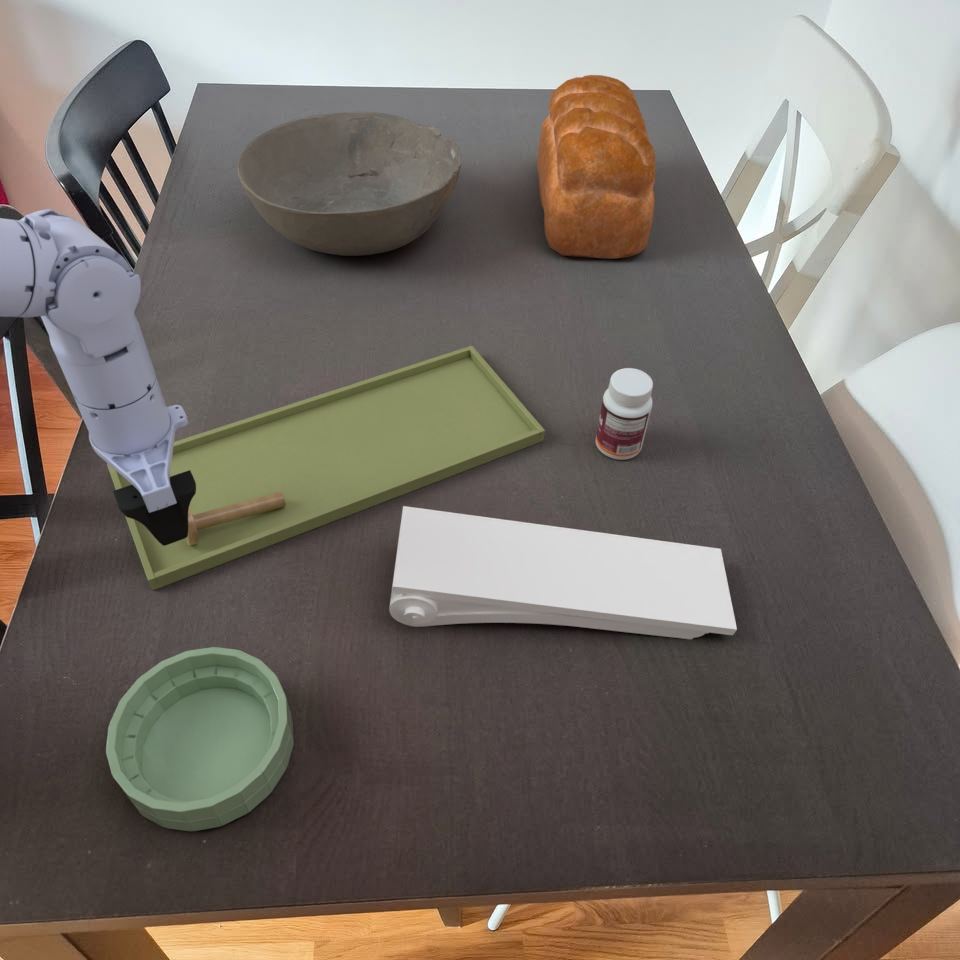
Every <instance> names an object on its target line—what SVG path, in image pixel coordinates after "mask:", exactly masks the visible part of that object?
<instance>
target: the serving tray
mask: <svg viewBox="0 0 960 960" xmlns="http://www.w3.org/2000/svg"><path fill="white" fill-rule="evenodd" d="M545 435H546V430H545V428H544V427H543V426H542V425H541V424H540V423H539V421H537V419H536V418H535V417H534V416H533V414H531V412H530V411H529V410H528V408H526V406H525V404H523V403H522V402H521V401H520V400H519V398H518V397H517V396H516V395H515V393H514V392H513V391H512V390H511V389H510V388H509V387H508V385H507V384H506V383H505V382H504V381H503V380H502V379H501V377H500V376H499V375H498V374H497V373H496V371H495V370H494V369H493V368H492V367H491V366H490V364H488V362H487V361H486V360H485V359H484V358H483V356H482V355H481V353H479V352H478V350H476V348H475V347H474V345H469V346H466V347H462V348H459V349H456V350H453V351H451V352H447V353H445V354H441V355H438V356H434V357H432V358H428V359H426V360H423V361H419V362H417V363H413V364H410V365H407V366H404V367H400V368H398V369H394V370H392V371H389V372H386V373H382V374H379V375H377V376H373V377H370V378H367V379H364V380H361V381H358V382H355V383H352V384H349V385H346V386H342V387H340V388H336V389H333V390H329V391H327V392H324V393H321V394H317V395H314V396H312V397H308V398H306V399H302V400H299V401H296V402H292V403H290V404H287V405H284V406H281V407H278V408H275V409H272V410H268V411H265V412H262V413H259V414H255V415H252V416H250V417H247V418H244V419H240V420H237V421H235V422H231V423H228V424H224V425H222V426H219V427H216V428H212V429H211V430H207V431H204V432H200V433H197V434H193V435H191V436H188V437H185V438H182V439H179V440H174V445H173V453H172V462H171V470H170V477H171V476H174V475H177V474H180V473H183V472H186V471H189V470H190V471H191V473H192V475H193V478H194V480H195V482H196V494H195V495H194V496H193V498H192V500H191V502H190V505H189V507H190V509H191V512H192V514H193V515H196V514H199V513H203V512H207V511H211V510H214V509H218V508H222V507H226V506H229V505H233V504H237V503H241V502H245V501H248V500H252V499H256V498H260V497H263V496H267V495H271V494H275V493H278V492H282V493H283V495H284V498H285V502H286V506H285V507H282V508H278V509H274V510H271V511H267V512H263V513H260V514H256V515H252V516H249V517H245V518H242V519H238V520H234V521H231V522H227V523H223V524H220V525H216V526H212V527H209V528H205V529H201V530H198V531H197V532H198V539H199V542H198V544H195V545H191V546H188V544H187V543H186V541H185V539H182V540H179V541H177V542H174V543H171V544H168V545H166V546H163V545H162V544H161V543H159V542H158V541H157V540H156V538H155V537H154V536H153V535H152V534H151V532H150V531H149V530H148V529H147V528H146V527H145V526H144V525H143V524H142V523H140V522H138V521H136V520H134V519H132V518H128V517H126V516H125V515H124V517H125V520H126V522H127V525H128V529H129V531H130V533H131V536H132V537H131V538H132V539H133V543H134V545H135V548H136V551H137V553H138V556H139V560H140V562H141V565H142V568H143V570H144V574H145V576H146V579H147V581H148V584H149V586H150V588H151V591H155V590H158V589H160V588H163V587H166V586H169V585H171V584H173V583H176V582H179V581H181V580H185V579H187V578H189V577H192V576H194V575H198V574H200V573H202V572H205V571H208V570H210V569H213V568H215V567H218V566H220V565H223V564H227V563H229V562H232V561H234V560H236V559H239V558H242V557H244V556H247V555H249V554H252V553H255V552H258V551H261V550H262V549H265V548H268V547H270V546H274V545H275V544H279V543H281V542H283V541H286V540H289V539H291V538H293V537H297V536H299V535H301V534H302V535H303V534H305V533H307V532H310V531H312V530H314V529H317V528H320V527H322V526H326V525H327V524H330V523H333V522H336V521H339V520H341V519H343V518H346V517H349V516H351V515H354V514H357V513H359V512H362V511H365V510H367V509H369V508H372V507H376V506H377V505H380V504H383V503H385V502H388V501H390V500H393V499H395V498H399V497H401V496H403V495H406V494H409V493H411V492H414V491H416V490H419V489H423V488H425V487H427V486H430V485H433V484H434V483H438V482H440V481H442V480H446V479H447V478H448V479H449V478H450V477H454V476H456V475H458V474H462V473H464V472H467V471H468V470H471V469H474V468H476V467H477V468H478V467H479V466H481V465H484V464H487V463H489V462H493V461H494V460H498V459H500V458H503V457H505V456H508V455H511V454H514V453H516V452H519V451H521V450H523V449H526V448H529V447H531V446H533V445H534V446H535V445H537V444H539V443H542V442H544V441H545ZM106 466H107V469H108V472H109V475H110V477H111V480H112V483H113V486H114V488H115V490H117V489H120V488H123V487H126V486H129V485H132V484H131V483H130V482H129V481H128V480H126V479H125V478H124V477H123V476H122V475H121V474H119V473H118V472H117V471H116V470H115V469H114V468H112V467H111V466H110V465H109V464H108V463H106Z"/></svg>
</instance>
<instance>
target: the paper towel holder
mask: <svg viewBox="0 0 960 960" xmlns="http://www.w3.org/2000/svg"><path fill="white" fill-rule="evenodd" d="M285 506H286V502H285V498H284V495H283V493H282V492H278V493H275V494H271V495H267V496H263V497H260V498H256V499H252V500H248V501H245V502H241V503H237V504H233V505H229V506H226V507H222V508H218V509H214V510H211V511H207V512H203V513H199V514H196V515H193V514H192V512H191V509H190V507H189V510H188V537H187V538H185V541H186V543H187V544H188V546H191V545H195V544H198V542H199V539H198V532H197V531H198V530H201V529H205V528H209V527H212V526H216V525H220V524H223V523H227V522H231V521H234V520H238V519H242V518H245V517H249V516H252V515H256V514H260V513H263V512H267V511H271V510H274V509H278V508H282V507H285Z"/></svg>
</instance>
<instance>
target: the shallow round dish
mask: <svg viewBox="0 0 960 960" xmlns="http://www.w3.org/2000/svg"><path fill="white" fill-rule="evenodd" d="M294 739H295V737H294V720H293V716H292V712H291V709H290V705H289V702H288V699H287V696H286V693H285V691H284V689H283V687H282V684H281V682H280V679H279V677H278V676H277V674H276V673H274V671H273V670H272V669H271V668H270V667H269V666H268V665H266V663H264V661H262V659H259V658H257V657H255V656H253V655H251V654H248V653H246V652H244V651H242V650H240V649H235V648H227V647H217V646H211V647H205V648H196V649H191V650H190V649H189V650H185V651H183V652H181V653H178V654H175V655H173V656H170V657H168V658H166V659H164V660H162V661H160V662H159V663H157V664H156V665H154V666H153V667H151V668H150V669H149V670H147V671H146V672H145V673H143V674H142V675H140V676H139V677H138V678H137V679H136V680H135V681H134V682H133V684H132V685H131V686H130V687H129V689H128V690H127V691H126V692H125V694H124V695H123V696H122V697H121V698H120V700H119V701H118V704H117V706H116V708H115V710H114V712H113V715H112V717H111V719H110V722H109V723H108V726H107V737H106V745H105V746H106V747H105V754H106V758H107V761H108V766H109V769H110V773H111V776H112V778H113V779H114V780H115V782H116V783H117V785H118V786H119V787H120V789H121V791H122V792H123V793H124V795H125V796H126V798H127V799H128V800H129V802H130V803H131V804H132V805H133V806H134V807H135V809H136V810H137V812H138V813H139V814H140V815H141V816H142V817H143V818H145V819H148V820H149V821H151V822H153V823H155V824H157V825H158V826H160V827H162V828H165V829H170V830H177V831H185V832H198V831H203V830H209V829H214V828H215V829H216V828H220V827H223V826H225V825H227V824H229V823H231V822H233V821H236V820H238V819H240V818H241V817H243V816H245V815H248V814H249V813H251V812H252V811H253V810H254V809H255V808H256V807H257V806H258V805H259V804H261V803H262V802H263V801H264V800H265V799H267V797H268V796H269V795H271V793H272V792H273V791H274V789H275V788H276V786H277V785H278V783H279V781H280V780H281V778H282V777H283V775H284V773H285V772H286V770H288V769H287V768H288V766H289V762H290V759H291V755H292V752H293V748H294V742H295V740H294Z"/></svg>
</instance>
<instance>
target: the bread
mask: <svg viewBox="0 0 960 960" xmlns="http://www.w3.org/2000/svg"><path fill="white" fill-rule="evenodd" d="M548 103H549V104H548V112H549V115H547V117H546V118H545V120H544V121H542V125H541V130H540V136H539V142H538V149H537V160H536V168H537V175H538V188H539V190H538V191H539V198H540V204H541V208H542V210H543V213H544V217H543V224H544V225H543V228H544V235H545V238H546V241H547V244H548V247H549V248H551V249H552V250H554V251H555V252H557V253H558V254H559V255H561V256H564V257H566V256H567V257H574V258H575V257H576V258H588V259H589V258H592V259H604V260H606V259H608V260H609V259H610V260H611V259H622V258H623V259H624V258H630V257H633V256H637V255H639V254H640V253H641V252H642V251H644V250H645V249H646V248H647V247H648V243H649V239H650V235H651V231H652V227H653V223H654V210H655V190H654V184H655V182H656V165H657V163H656V153H655V150H654V147H653V145H652V144H651V142H650V139H649V136H648V135H649V134H648V130H647V128H646V122H645V119H644V117H643V115H642V112H641V109H640V106H639V104H638V101H637V100H636V98H635V94H634V92H633V90H632V88H630V87H629V86H628V85H627V84H626V83H625V82H624V81H621V80H620V79H618V78H615V77H611V76H607V75H600V74H587V75H583V76H579V77H577V76H576V77H572V78H570V79H567V80H565V81H564V82H563V83H561V84H560V85H559V86H558V87H556V88H555V89H554V90H552V92H551V95H550V98H549V102H548Z"/></svg>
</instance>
